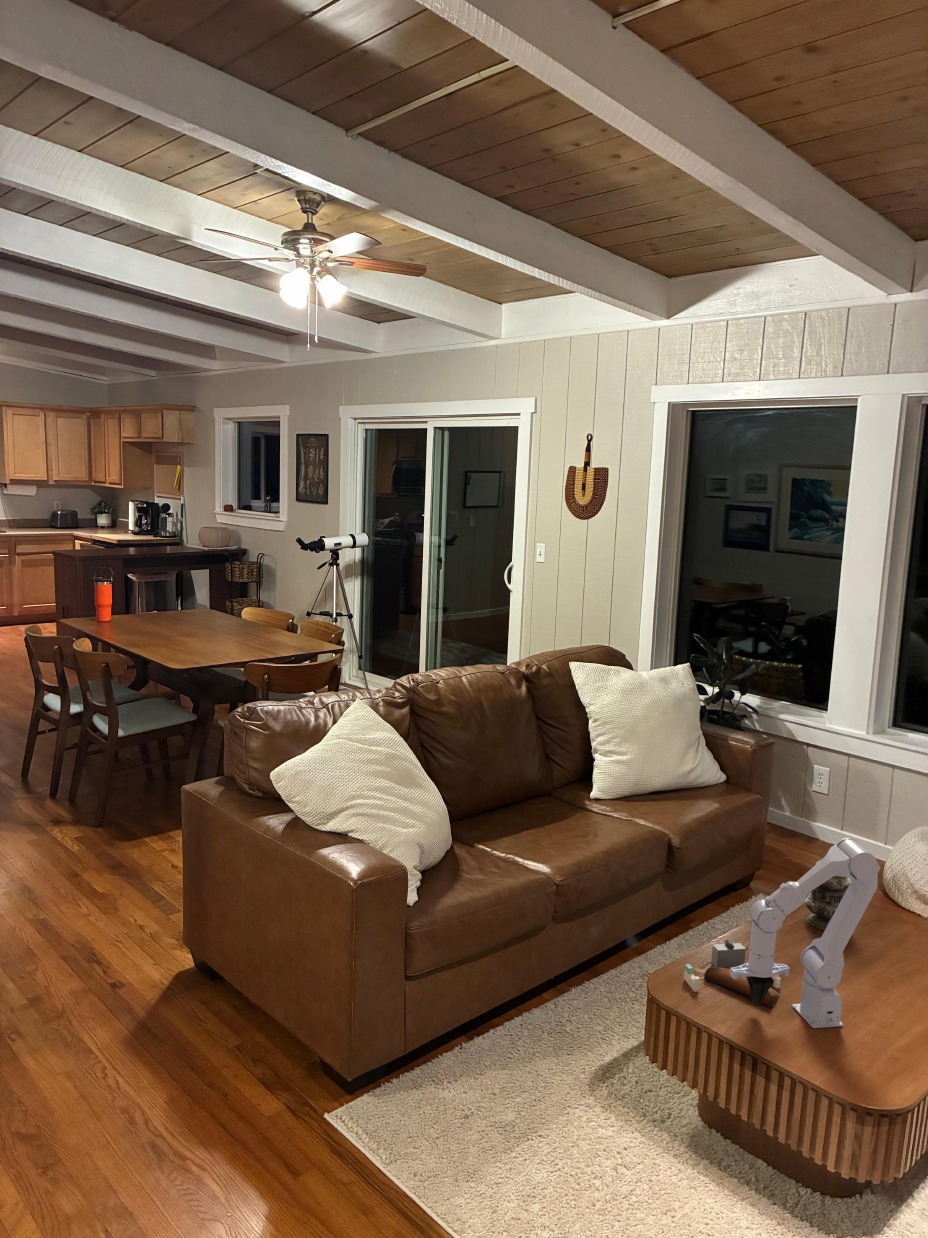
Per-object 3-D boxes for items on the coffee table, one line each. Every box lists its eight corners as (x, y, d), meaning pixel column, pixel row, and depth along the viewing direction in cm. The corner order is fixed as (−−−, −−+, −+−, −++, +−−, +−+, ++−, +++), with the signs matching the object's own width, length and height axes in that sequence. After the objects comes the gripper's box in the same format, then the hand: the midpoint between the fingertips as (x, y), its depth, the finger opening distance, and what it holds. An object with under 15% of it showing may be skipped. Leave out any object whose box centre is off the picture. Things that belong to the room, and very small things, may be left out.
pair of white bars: (779, 988, 232) (781, 973, 231) (696, 994, 227) (697, 979, 227) (757, 965, 242) (759, 951, 242) (677, 970, 238) (678, 956, 237)
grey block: (744, 966, 242) (746, 944, 241) (716, 968, 240) (718, 946, 239) (738, 960, 245) (740, 939, 244) (711, 962, 243) (713, 940, 242)
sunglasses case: (784, 995, 229) (780, 979, 225) (773, 1018, 225) (769, 1002, 221) (718, 967, 240) (713, 952, 237) (706, 989, 236) (701, 973, 233)
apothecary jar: (842, 937, 260) (849, 878, 257) (798, 925, 266) (805, 867, 263) (849, 921, 270) (856, 863, 268) (807, 909, 276) (813, 853, 274)
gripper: (780, 941, 223) (775, 992, 225) (726, 944, 220) (721, 996, 222) (796, 955, 216) (790, 1008, 218) (740, 959, 213) (735, 1012, 215)
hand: (756, 1003), depth 220 cm, fingers closed
